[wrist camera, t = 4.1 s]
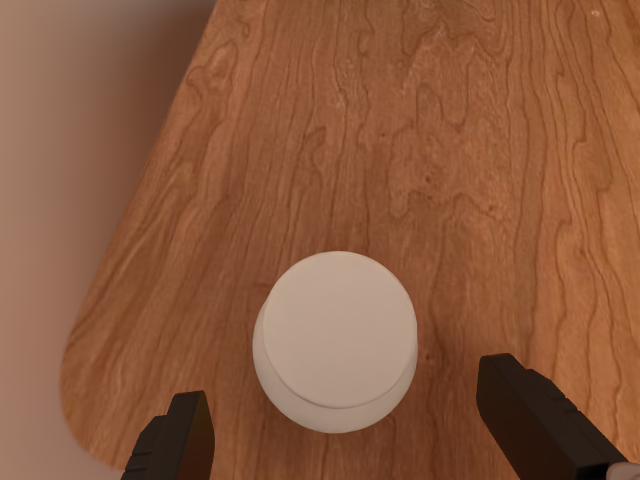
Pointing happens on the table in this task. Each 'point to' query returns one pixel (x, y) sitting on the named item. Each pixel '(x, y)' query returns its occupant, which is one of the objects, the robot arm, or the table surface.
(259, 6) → the table surface
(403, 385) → the supplement bottle
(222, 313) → the table surface
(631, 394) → the table surface
